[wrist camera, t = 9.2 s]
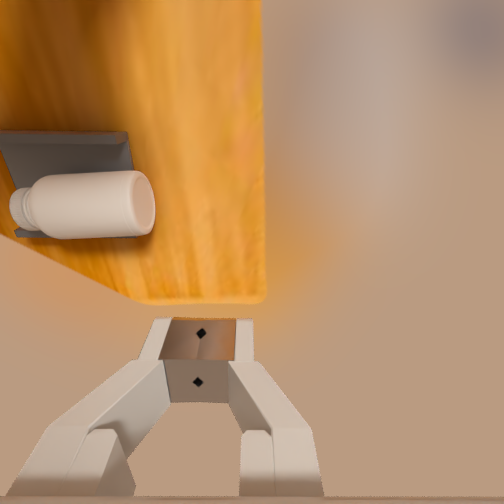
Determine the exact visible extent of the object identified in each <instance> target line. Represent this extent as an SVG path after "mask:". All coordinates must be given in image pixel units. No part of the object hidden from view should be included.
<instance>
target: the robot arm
mask: <svg viewBox="0 0 504 504" xmlns="http://www.w3.org/2000/svg"><path fill="white" fill-rule="evenodd" d="M253 342H254V339H253V320H252V318H237V320H236V319H235V318H232V319H231V318H185V317H156V319H155V320H154V321H153V324H152V326H151V328H150V331H149V333H148V335H147V338H146V340H145V343H144V345H143V347H142V350H141V352H140V355H139V357H138V359H137V360H131V361H130V362H129V363H127V364H126V365H125V366H123V367H122V368H121V369H120V370H118V371H117V372H116V373H115V374H113V375H112V376H111V377H110V378H108V379H107V380H106V381H105V382H103V383H102V384H101V385H100V386H98V387H97V388H96V389H94V390H93V391H92V392H91V393H90V394H88V395H87V396H86V397H84V398H83V399H82V400H81V401H79V402H78V403H77V404H76V405H74V406H73V407H72V408H71V409H69V410H68V411H67V412H66V413H64V414H63V415H62V416H61V417H59V418H58V419H57V420H55V421H54V422H53V423H52V424H50V425H49V426H48V427H47V428H46V430H45V432H44V433H43V435H42V437H41V438H40V440H39V442H38V443H37V445H36V447H35V448H34V450H33V452H32V453H31V455H30V456H29V458H28V460H27V461H26V463H25V465H24V467H23V468H22V470H21V471H20V473H19V475H18V476H17V478H16V480H15V481H14V483H13V484H12V487H11V488H10V489H9V491H8V493H7V494H6V496H0V504H504V497H324V492H323V487H322V482H321V477H320V471H319V466H318V461H317V455H316V450H315V445H314V440H313V434H312V429H311V428H310V427H309V425H308V424H307V423H306V422H305V420H304V419H303V418H302V416H301V415H300V414H299V413H298V411H297V410H296V409H295V407H294V406H293V405H292V403H291V402H290V401H289V400H288V398H287V397H286V396H285V394H284V393H283V392H282V391H281V389H280V388H279V387H278V385H277V384H276V383H275V382H274V380H273V379H272V378H271V376H270V375H269V374H268V373H267V371H266V370H265V369H264V367H263V366H262V365H261V363H260V362H255V361H254V343H253ZM171 402H213V403H229V406H230V408H231V410H232V412H233V414H234V416H235V418H236V420H237V422H238V424H239V426H240V428H241V430H242V432H243V435H242V436H241V461H240V463H241V464H240V489H239V490H240V491H239V497H219V496H218V497H217V496H216V497H211V496H210V497H209V496H207V497H206V496H201V497H200V496H199V497H198V496H196V497H195V496H193V497H192V496H191V497H190V496H187V497H186V496H185V497H184V496H180V497H175V496H169V497H168V496H167V497H166V496H165V497H163V496H161V497H160V496H151V497H150V496H143V497H142V496H138V497H137V496H133V494H134V490H135V487H136V485H135V482H134V479H133V477H132V474H131V471H130V469H129V466H128V463H127V458H128V457H129V456H130V455H131V453H132V452H133V451H134V449H135V448H136V447H137V446H138V445H139V443H140V442H141V441H142V440H143V438H144V437H145V436H146V435H147V433H148V432H149V431H150V429H151V428H152V427H153V426H154V425H155V423H156V422H157V421H158V420H159V418H160V417H161V416H162V415H163V413H164V412H165V411H166V410H167V408H168V407H169V406H170V405H171Z"/></svg>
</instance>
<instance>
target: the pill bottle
mask: <svg viewBox="0 0 504 504" xmlns="http://www.w3.org/2000/svg"><path fill="white" fill-rule="evenodd" d="M9 208H10V213H11V215H12V218H13V219H14V221H15V222H16V223H17V224H18V225H19V226H20V227H21V228H23V229H26V230H28V231H37V230H41V231H42V232H44V233H45V234H46V235H48V236H50V237H53V238H57V239H80V238H101V237H121V236H140V235H146V234H148V233H149V232H151V230H152V228H153V226H154V222H155V212H156V210H155V199H154V194H153V190H152V187H151V185H150V182H149V180H148V179H147V177H146V176H145V175H144V174H143V173H142V172H140V171H112V172H94V173H76V174H58V175H48V176H45V177H43V178H41V179H39V180H38V181H37V182H35V184H34V185H33V186H32V187H30V188H20V189H18V190H16V191H15V192H14V193H13V194H12V196H11V198H10V202H9Z"/></svg>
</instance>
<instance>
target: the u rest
mask: <svg viewBox="0 0 504 504" xmlns="http://www.w3.org/2000/svg"><path fill="white" fill-rule="evenodd" d="M0 150H1V152H2V155H3V157H4V160H5V162H6V165H7V167H8V170H9V172H10V175H11V177H12V180H13V182H14V185H15V187H16V189H17V190H18V189H20V188H30V187H32V186H33V185H34V184H35V182H37V181H38V180H39V179H41V178H43V177H45V176H48V175H58V174H76V173H94V172H112V171H134V167H133V161H132V156H131V151H130V145H129V140H128V135H127V132H105V131H36V130H0ZM14 232H15V234H16V236H17V237H48V238H53V237H50V236H48V235H46V234H45V233H44V232H42V231H41V230H37V231H28V230H26V229H23V228H21V227H19V228H18V229H16V230H14ZM137 237H138V236H121V237H101V238H137Z"/></svg>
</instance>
